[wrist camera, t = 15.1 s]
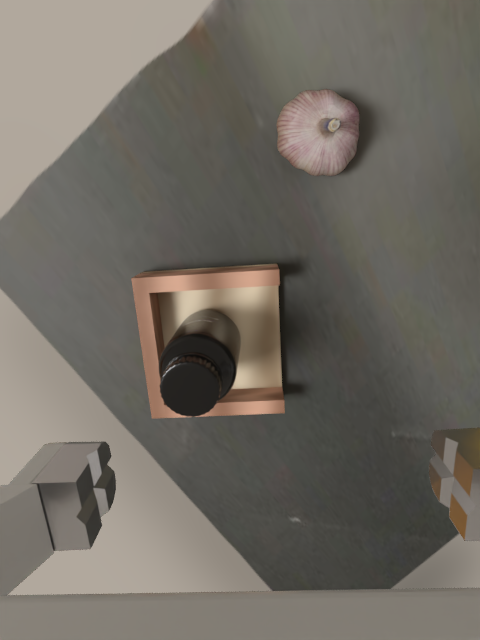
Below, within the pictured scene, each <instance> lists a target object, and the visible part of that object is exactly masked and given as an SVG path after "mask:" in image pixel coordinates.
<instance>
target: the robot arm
mask: <svg viewBox="0 0 480 640" xmlns="http://www.w3.org/2000/svg"><path fill="white" fill-rule="evenodd" d="M431 446H432V448H433V449H434V450H435V452H436V454H435V455H434V456H433V457H432V459H431V460H430V461H429V477H430V482H431V486H432V489H433V491H434V494H435V495H436V497H437V499H438V500H439V502H441V503H442V504H444V505H445V506H447V507H449V508H450V512H449V518H450V519H451V521H452V522H453V524H454V525H455V527H456V528H457V530H458V531H459V533H460V535H461V536H462V537H463V539H464V541H480V427H477V428H463V429H446V430H434V432H433V434H432V438H431ZM110 458H111V453H110V448H109V445H108V444H107V443H106V442H69V443H66V442H59V443H48V444H45V445H44V446H43V447H42V448H41V449H40V450H39V451H38V452H37V454H35V456H34V457H33V458H32V459H31V460H30V461H29V462H28V463H27V464H26V466H25V467H24V468H23V469H22V470H21V471H20V472H19V473H18V475H17V476H16V477H15V478H14V479H13V480H12V481H11V482H10V484H8V485H1V486H0V640H480V588H433V589H432V588H431V589H365V590H305V591H252V592H195V593H194V592H193V593H128V594H67V595H66V594H65V595H8V594H9V593H10V592H11V591H12V590H13V589H14V588H15V587H17V586H18V585H19V584H20V583H21V582H22V581H23V580H25V579H26V578H27V577H28V576H29V575H30V574H31V573H32V572H33V571H34V570H36V569H37V568H38V567H39V566H40V565H41V564H42V563H43V562H45V561H46V560H47V559H48V558H49V557H50V556H51V555H52V554H53V553H54V551H64V550H81V549H82V550H83V549H91V547H92V545H93V543H94V541H95V539H96V537H97V535H98V533H99V530H100V528H101V526H102V523H101V518H100V517H102V516H103V515H104V514H106V513H107V512H108V511H109V510H110V508H111V505H112V503H113V500H114V495H115V490H116V480H115V474H114V471H113V470H112V469H111V468H110V467H109V466H108V465H107V463H108V461H109V460H110Z"/></svg>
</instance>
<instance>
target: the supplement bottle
mask: <svg viewBox="0 0 480 640" xmlns="http://www.w3.org/2000/svg"><path fill="white" fill-rule="evenodd" d="M240 347H241V337H240V333H239V330H238V328H237V326H236V324H235V323H234V322H233V321H232V320H231V319H230V318H229V317H228V316H227V315H225V314H223V313H221V312H218V311H214V310H202V311H198V312H195V313H193V314H191V315H190V316H188V317H187V318H186V319H185V320H184V321H183V323H182V324H181V325H180V327H179V328H178V329H177V331H176V332H175V334H174V335H173V337H172V338H171V340H170V341H169V342H168V344H167V345H166V347H165V349H164V350H163V352H162V354H161V357H160V360H159V376H160V379H161V380H160V382H161V383H160V393H161V397H162V398H163V401H164V403H166V405H167V407H169V408H170V409H171V410H172V411H174V412H175V413H177V414H180V415H182V416H187V417H189V416H191V417H195V416H200V415H204V414H205V413H207V412H209V411H210V410H211V409H213V408H214V406H215V405H216V404H217V402H218V401H219V400H221V399H222V398H224V397H225V396H226V395H227V394H228V393H229V391H230V390H231V389H232V387H233V385H234V382H235V379H236V374H237V368H238V361H239V354H240Z"/></svg>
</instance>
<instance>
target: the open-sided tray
mask: <svg viewBox="0 0 480 640" xmlns="http://www.w3.org/2000/svg"><path fill="white" fill-rule="evenodd" d="M131 279H132V286H133V292H134V299H135V306H136V313H137V320H138V327H139V333H140V340H141V347H142V354H143V361H144V367H145V374H146V381H147V388H148V395H149V401H150V408H151V415H152V418H176V417H187V416H182V415H180V414H177V413H175V412H174V411H172V410H171V409H170V408H169V407H167V405H166V403H164V401H163V398H162V397H161V393H160V383H161V382H160V380H161V379H160V376H159V360H160V357H161V354H162V352H163V350H164V349H165V347H166V345H167V344H168V342H169V341H170V340H171V338H172V337H173V335H174V334H175V332H176V331H177V329H178V328H179V327H180V325H181V324H182V323H183V321H184V320H185V319H186V318H187V317H188V316H190V315H191V314H193V313H195V312H198V311H202V310H214V311H218V312H221V313H223V314H225V315H227V316H228V317H229V318H230V319H231V320H232V321H233V322H234V323H235V324H236V326H237V328H238V330H239V333H240V337H241V347H240V354H239V361H238V368H237V374H236V379H235V382H234V385H233V387H232V389H231V390H230V391H229V393H228V394H227V395H226V396H225V397H224V398H222V399H221V400H219V401H218V402H217V404H216V405H215V406H214V408H213V409H211V410H210V411H209V412H207V413H205V414H204V415H200V416H225V415H249V414H274V413H285V409H284V396H283V390H282V372H281V346H280V320H279V294H278V285H280V275H279V268H278V265H277V264H261V265H245V266H229V267H212V268H196V269H180V270H163V271H147V272H142V273H140V274H138V275H137V276H135V277H133V278H131ZM200 416H195V417H200ZM189 417H191V416H189Z"/></svg>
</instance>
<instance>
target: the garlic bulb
mask: <svg viewBox="0 0 480 640" xmlns="http://www.w3.org/2000/svg"><path fill="white" fill-rule="evenodd" d="M359 120H360V117H359V111H358V109H357V107H356V106H355V104H354V103H353V102H351V101H349V100H347V99H344V98H342V97H341V96H339V95H338V94H337V93H336V92H334V91H332V90H328V89H324V90H319V91H314V90H306V91H303V92H301V93H300V94H298V95H297V97H295V98H294V99H293V100H292V101H290V102H288V103H287V104H286V105H285V106H284V107H283V109H282V111H281V113H280V115H279V117H278V121H277V131H278V142H277V146H278V150H279V152H280V154H281V155H282V156H283V157H285V158H286V159H288V160H289V162H290V163H291V164H292V165H293V166H294V167H296V168H298V169H302V170H305V171H306V172H307V173H309V174H310V175H313V176H320V175H328V176H334V175H337V174H339V173H340V172H342V171H343V170H344V169H345V168H346V166H347V165H348V163H349V162H350V161H351V160H352V159H353V158H354V156H355V154H356V151H357V141H358V138H359Z"/></svg>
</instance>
